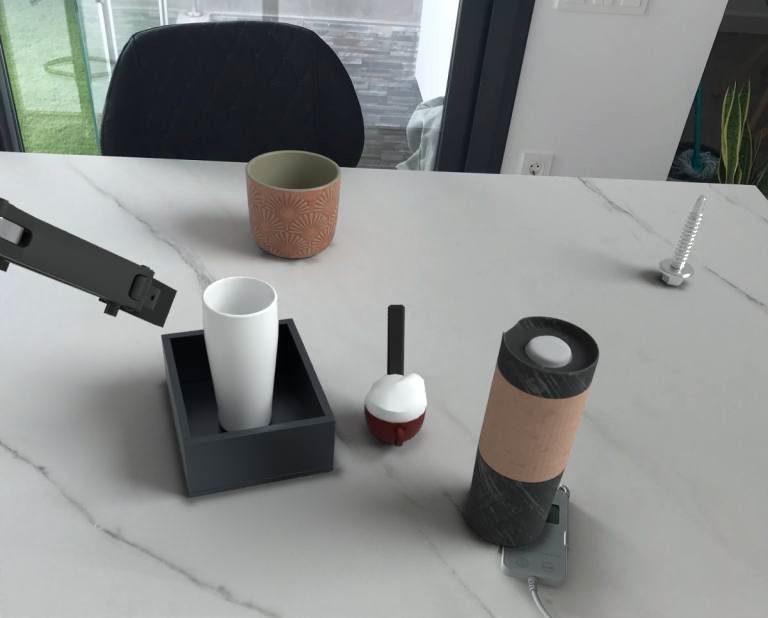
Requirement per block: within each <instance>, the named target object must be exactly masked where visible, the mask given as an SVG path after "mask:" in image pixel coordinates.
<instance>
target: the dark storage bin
mask: <svg viewBox="0 0 768 618" xmlns="http://www.w3.org/2000/svg"><path fill="white" fill-rule="evenodd" d="M160 339H161V346H162V354H163V355H162V356H163V362H164V371H165V378H166V385H167V391H168V396H169V401H170V404H171V405H170V406H171V411H172V417H173V420H174V426H175V430H176V436H177V440H178V445H179V446H178V447H179V452H180V456H181V461H182V465H183V471H184V475H185V481H186V484H187V485H186V486H187V491H188V496H189V498H194V497H201V496H204V495H210V494H216V493H221V492H227V491H231V490H236V489H242V488H246V487H247V488H248V487H253V486H258V485H262V484H268V483H274V482H278V481H284V480H290V479H294V478H300V477H305V476H311V475H317V474H321V473H326V472H331V471H334V464H335V463H334V462H335V446H336V444H335V442H336V427H337V418H336V417H335V415H334V414H335V413H334V412H333V409H332V407H331V405H330V403H329V400H328V398H327V396H326V393H325V390H324V388H323V386H322V383H321V381H320V379H319V377H318V374H317V371H316V370H315V368H314V365H313V362H312V361H311V358H310V356H309V353H308V351H307V349H306V347H305V344H304V342H303V339H302V336H301V335H300V332H299V330H298V328H297V326H296V323H295V321H294V319H293V318H292V317H290V318H283V319H279V327H278V345H277V355H276V365H275V375H274V386H273V398H272V419H271V422H270V424H269V425H268V426H262V427H256V428H250V429H244V430H238V431H232V432H227V431H226V430H225V429H223V427H222V426H221V425H220V423H219V420H218V411H217V402H216V397H215V391H214V386H213V380H212V375H211V370H210V365H209V359H208V354H207V349H206V344H205V338H204V330H203V328H202V329H195V330H187V331H179V332H171V333H164V334H160Z"/></svg>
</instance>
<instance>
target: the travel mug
mask: <svg viewBox="0 0 768 618" xmlns="http://www.w3.org/2000/svg"><path fill="white" fill-rule="evenodd" d="M599 359H600V348H599V346H598V343H597V341H596V340H595V338H594V337H593V336H592V335H591V334H590V333H589V332H587V331H586V330H585V329H583V328H582V327H580V326H578V325H577V324H575V323H572V322H570V321H568V320H565V319H561V318H556V317H552V316H545V315H544V316H543V315H542V316H540V315H537V316H536V315H535V316H526V317H522V318H521V319H519V320H518V321H517V322H516V324H514V325H513V326H512V327H511V328H509V329H508V330H506V331H502V334H501V339H500V344H499V350H498V353H497V359H496V363H495V367H494V371H493V376H492V381H491V383H490V384H491V385H490V389H489V393H488V398H487V402H486V406H485V411H484V414H483V415H484V416H483V420H482V425H481V428H480V433H479V438H478V442H477V446H476V447H477V448H476V453H475V459H474V466H473V471H472V478H471V483H470V490H469V494H468V501H467V509H466V510H467V511H466V513H467V518H468V522H469V524H470V526H471V527H472V529H473V530H474V531H475V532H476V534H477V535H479V536H480V537H481V538H482V539H484V540H486V541H488V542H490V543H491V544H493V545H494V544H495V545H498V546H502V547H507V548H509V547H512V548H514V547H515V548H516V547H521V546H526V545H528V544H531V543H532V542H533V541H535V539H537V538H538V537H539V536H540V535H541V533H542V531H543V529H544V526H545V524H546V521H547V519H548V516H549V513H550V512H551V511H550V510H551V508H552V505H553V502H554V499H555V496H556V494H557V491H558V489H559V486H560V483H561V480H562V478H563V475H564V473H565V470H566V466H567V464H568V460H569V458H570V454H571V451H572V448H573V445H574V441H575V438H576V434H577V431H578V427H579V425H580V421H581V419H582V415H583V411H584V409H585V405H586V402H587V400H588V395H589V392H590V389H591V385H592V382H593V379H594V376H595V373H596V369H597V366H598V363H599Z"/></svg>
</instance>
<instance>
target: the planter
mask: <svg viewBox="0 0 768 618" xmlns="http://www.w3.org/2000/svg"><path fill="white" fill-rule="evenodd" d="M244 170H245V171H244V172H245V181H246V182H245V183H246V185H245V186H246V198H247V209H248V218H249V225H250V230H251V234H252V237H253V240H254V241H255V243H256V244H257V245H258V246H259V247H260V248H261V249H263V250H264V251H265V252H267V253H268V254H271V255H274V256H276V257H280V258H285V259H303V258H309V257H313V256H316V255H318V254H320V253H322V252H323V251H325V250H326V249H327V248H328V247H329V246H330V245H331V243H332V242H333V240H334V237H335V234H336V230H337V224H338V217H339V207H340V196H341V183H342V170H341V168H340V166H339V165H338V164H337V162H335V161H334V160H332V159H331V158H329V157H326V156H325V155H322V154H319V153H315V152H310V151H305V150H291V149H290V150H289V149H288V150H275V151H270V152H265V153H262V154H259V155H257V156H255V157H254V158H252V159H251V160H249V161H248V162H247V163H246V165H245V169H244Z"/></svg>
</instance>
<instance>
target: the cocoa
mask: <svg viewBox="0 0 768 618" xmlns="http://www.w3.org/2000/svg"><path fill="white" fill-rule="evenodd" d="M405 323H406V306H405V305H404V304H389V305H388V306H387V329H386V330H387V331H386V333H387V337H386V341H387V343H386V374H384V375H382V376H381V377H380V378H379V379H377V380H376V381H374V382H373V383H372V385H371V387H370V389H369V391H368V392H367V393H366V394H365V396H364V400H363V404H364V405H363V408H364V409H363V413H364V418H365V422H366V425H367V427H368V430H369V431H370V433H371V434H372V435H373V436H374V437H376V438H377V439H379V440H380V441H382V442H387V443H390V444H393V445H394V446H395V447H402V446H403V444H404V442H407V441H410V440H411V439H413V438H414V437H415V436H416V435H417V434H418V433H419V432H420V431H421V428H422V427H423V424H424V422H425V417H426V412H427V405H428V401H427V394H426V387H425V380H424V378H422V377H421V375H419V374H418V373H414V372H412V373H408V374H405V337H406V335H405V332H406V331H405V329H406V326H405V325H406V324H405Z"/></svg>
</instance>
